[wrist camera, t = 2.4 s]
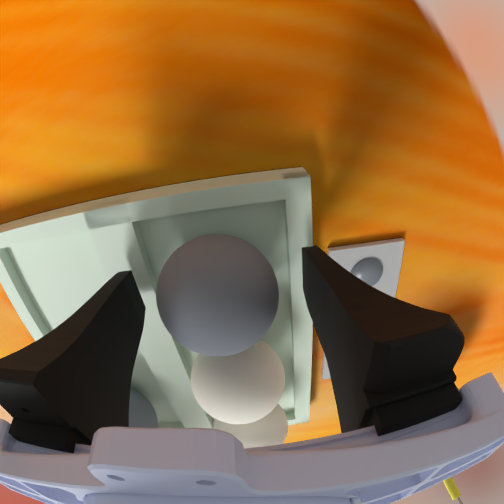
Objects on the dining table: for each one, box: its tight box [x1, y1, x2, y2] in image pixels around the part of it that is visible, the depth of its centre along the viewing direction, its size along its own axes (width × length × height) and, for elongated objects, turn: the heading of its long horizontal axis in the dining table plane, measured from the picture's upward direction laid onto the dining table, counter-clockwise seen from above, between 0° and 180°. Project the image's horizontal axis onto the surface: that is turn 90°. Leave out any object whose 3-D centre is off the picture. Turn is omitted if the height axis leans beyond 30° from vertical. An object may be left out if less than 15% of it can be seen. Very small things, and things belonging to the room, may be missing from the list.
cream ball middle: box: [191, 339, 285, 424], centre depth 15 cm, size 5×5×5 cm
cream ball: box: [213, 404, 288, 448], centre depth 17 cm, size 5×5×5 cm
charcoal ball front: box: [156, 234, 279, 357], centre depth 12 cm, size 5×5×5 cm
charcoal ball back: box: [129, 389, 158, 428], centre depth 17 cm, size 5×5×5 cm
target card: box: [321, 238, 405, 380], centre depth 17 cm, size 10×4×1 cm, turn 7°
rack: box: [0, 167, 313, 429], centre depth 17 cm, size 18×16×1 cm
